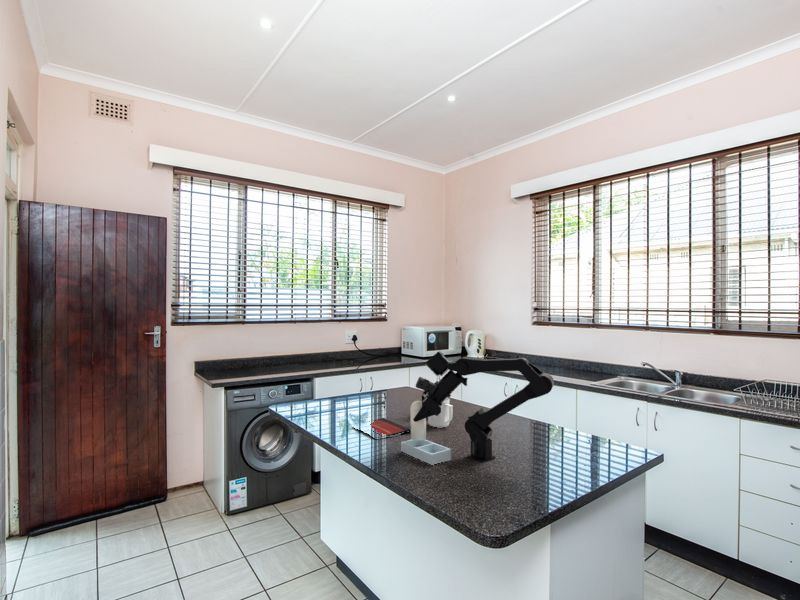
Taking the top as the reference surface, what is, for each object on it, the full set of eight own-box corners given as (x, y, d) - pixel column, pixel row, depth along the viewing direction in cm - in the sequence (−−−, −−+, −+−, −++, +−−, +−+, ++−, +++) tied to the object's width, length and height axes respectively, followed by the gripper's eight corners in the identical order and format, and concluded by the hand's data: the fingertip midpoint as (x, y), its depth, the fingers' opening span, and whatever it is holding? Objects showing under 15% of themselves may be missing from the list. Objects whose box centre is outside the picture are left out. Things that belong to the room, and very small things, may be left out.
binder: (383, 417, 185) (411, 428, 168) (383, 422, 185) (411, 434, 168) (350, 424, 176) (376, 437, 159) (350, 430, 176) (376, 443, 159)
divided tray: (451, 459, 139) (451, 449, 139) (431, 465, 134) (431, 454, 134) (419, 447, 151) (419, 437, 151) (401, 452, 146) (401, 442, 146)
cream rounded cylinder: (429, 438, 145) (428, 401, 145) (417, 441, 142) (417, 403, 142) (419, 434, 149) (418, 398, 149) (407, 437, 146) (407, 400, 146)
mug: (423, 425, 179) (423, 398, 179) (438, 421, 185) (438, 395, 185) (444, 431, 170) (444, 403, 170) (459, 427, 176) (459, 400, 176)
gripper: (428, 365, 155) (398, 396, 155) (430, 373, 136) (395, 408, 136) (450, 387, 154) (420, 418, 155) (455, 398, 136) (420, 433, 136)
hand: (414, 418), depth 145 cm, fingers closed on cream rounded cylinder, 5 cm apart
